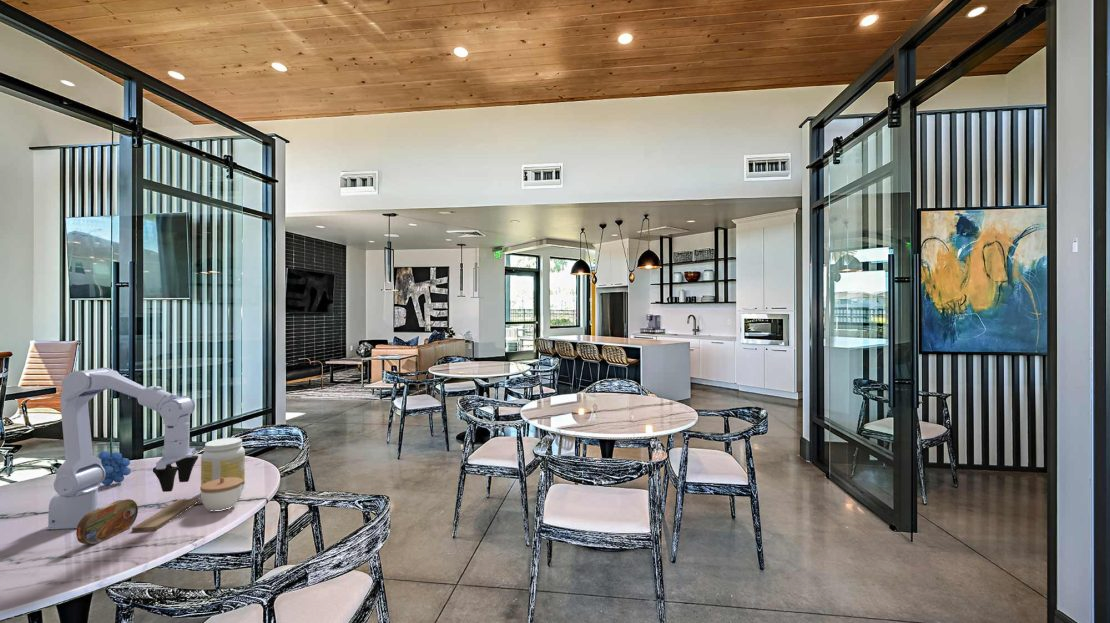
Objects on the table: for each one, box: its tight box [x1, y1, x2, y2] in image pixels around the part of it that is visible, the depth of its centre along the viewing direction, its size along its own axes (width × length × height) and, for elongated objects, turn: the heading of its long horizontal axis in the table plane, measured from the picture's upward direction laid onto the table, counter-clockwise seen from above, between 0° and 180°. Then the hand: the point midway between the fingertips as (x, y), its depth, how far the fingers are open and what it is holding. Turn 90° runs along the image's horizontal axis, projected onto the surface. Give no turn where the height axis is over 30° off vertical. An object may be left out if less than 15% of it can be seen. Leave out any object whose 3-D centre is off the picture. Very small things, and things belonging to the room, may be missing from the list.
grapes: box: [96, 450, 132, 486], centre depth 163 cm, size 12×7×12 cm, turn 126°
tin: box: [75, 498, 139, 545], centre depth 126 cm, size 15×3×8 cm, turn 179°
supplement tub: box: [200, 437, 246, 489], centre depth 159 cm, size 12×12×17 cm
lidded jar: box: [200, 477, 243, 511], centre depth 145 cm, size 11×11×9 cm
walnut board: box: [131, 498, 200, 533], centre depth 139 cm, size 6×20×1 cm, turn 9°
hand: (175, 486), depth 136 cm, fingers open, 7 cm apart
